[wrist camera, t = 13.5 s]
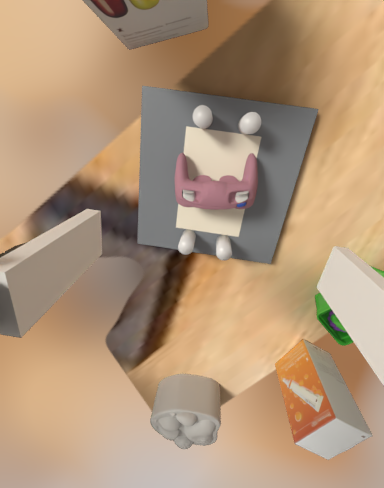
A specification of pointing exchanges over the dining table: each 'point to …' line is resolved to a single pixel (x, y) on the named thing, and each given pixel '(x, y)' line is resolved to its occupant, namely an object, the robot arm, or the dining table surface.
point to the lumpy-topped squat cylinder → (187, 410)
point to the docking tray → (218, 170)
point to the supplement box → (150, 19)
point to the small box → (319, 402)
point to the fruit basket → (334, 319)
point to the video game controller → (216, 187)
